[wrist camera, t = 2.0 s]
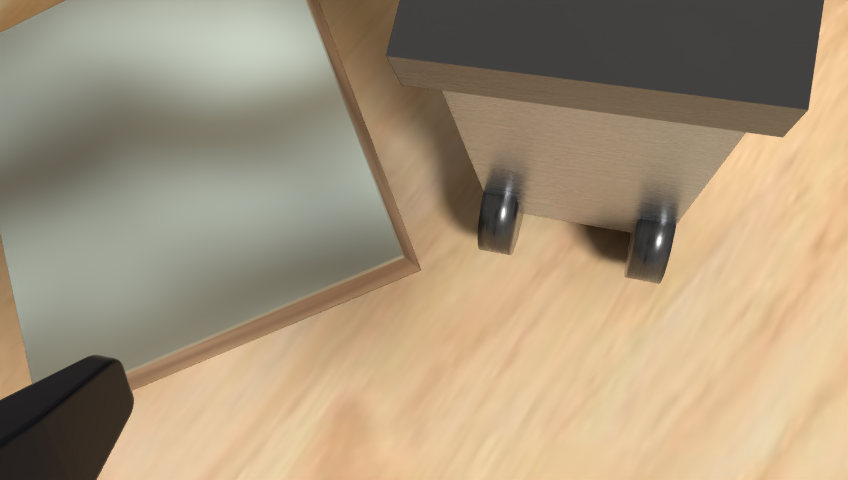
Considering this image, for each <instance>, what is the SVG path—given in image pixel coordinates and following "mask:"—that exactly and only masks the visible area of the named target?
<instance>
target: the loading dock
mask: <svg viewBox="0 0 848 480" xmlns="http://www.w3.org/2000/svg"><path fill="white" fill-rule="evenodd" d="M0 234H1V239H2V244H3V248H4V253H5V258H6V262H7V267H8V272H9V277H10V281H11V286H12V291H13V295H14V300H15V305H16V310H17V314H18V319H19V324H20V328H21V333H22V338H23V343H24V347H25V352H26V357H27V361H28V366H29V371H30V375H31V380H32V384H33V383H35V382H37V381H39V380H41V379H43V378H45V377H47V376H49V375H51V374H53V373H55V372H57V371H59V370H61V369H63V368H65V367H67V366H70V365H72V364H74V363H76V362H78V361H80V360H82V359H84V358H86V357H88V356H91V355H101V356H106V357H111V358H115V359H118V360H119V361H120V362H121V363H122V365H123V367H124V370H125V373H126V376H127V379H128V382H129V385H130V388H131V391H132V390H135V389H137V388H140V387H142V386H144V385H147V384H149V383H152V382H154V381H156V380H159V379H161V378H163V377H166V376H168V375H171V374H173V373H175V372H178V371H180V370H183V369H185V368H187V367H190V366H192V365H195V364H197V363H199V362H202V361H204V360H207V359H209V358H211V357H214V356H216V355H219V354H221V353H223V352H226V351H228V350H231V349H233V348H235V347H238V346H240V345H243V344H245V343H247V342H250V341H252V340H255V339H257V338H259V337H262V336H264V335H267V334H269V333H271V332H274V331H276V330H279V329H281V328H283V327H286V326H288V325H291V324H293V323H295V322H298V321H300V320H303V319H305V318H307V317H310V316H312V315H315V314H317V313H319V312H322V311H324V310H326V309H329V308H331V307H334V306H336V305H338V304H341V303H343V302H346V301H348V300H350V299H353V298H355V297H358V296H360V295H362V294H365V293H367V292H370V291H372V290H374V289H377V288H379V287H382V286H384V285H386V284H389V283H391V282H394V281H396V280H398V279H401V278H403V277H406V276H408V275H410V274H413V273H415V272H418V271H420V270H421V268H420V266H419V263H418V260H417V258H416V255H415V253H414V250H413V247H412V245H411V242H410V240H409V237H408V234H407V232H406V229H405V227H404V224H403V221H402V219H401V216H400V213H399V211H398V208H397V206H396V203H395V200H394V198H393V195H392V193H391V190H390V187H389V185H388V182H387V180H386V177H385V174H384V172H383V169H382V166H381V164H380V161H379V159H378V156H377V153H376V151H375V148H374V146H373V143H372V140H371V138H370V135H369V133H368V130H367V127H366V125H365V122H364V120H363V117H362V114H361V112H360V109H359V106H358V104H357V101H356V99H355V96H354V93H353V91H352V88H351V86H350V83H349V80H348V78H347V75H346V73H345V70H344V67H343V65H342V62H341V60H340V57H339V54H338V52H337V49H336V46H335V44H334V41H333V39H332V36H331V33H330V31H329V28H328V26H327V23H326V20H325V18H324V15H323V13H322V10H321V7H320V5H319V2H318V0H65V1H63V2H61V3H59V4H57V5H55V6H53V7H51V8H49V9H47V10H45V11H43V12H41V13H39V14H37V15H35V16H33V17H31V18H29V19H27V20H25V21H23V22H21V23H19V24H17V25H15V26H13V27H11V28H9V29H7V30H5V31H2V32H0Z"/></svg>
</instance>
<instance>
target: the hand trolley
mask: <svg viewBox="0 0 848 480" xmlns="http://www.w3.org/2000/svg"><path fill="white" fill-rule="evenodd" d="M823 4H824V0H400V2H399V6H398V10H397V14H396V18H395V22H394V26H393V30H392V34H391V38H390V42H389V46H388V50H387V54H386V57H387V59H388V61H389V62H390V64H391V66H392V68H393V70H394V72H395V73H396V75H397V77H398V79H399V81H400V83H401V85H406V86H413V87H420V88H427V89H435V90H442V92H443V94H444V97H445V99H446V102H447V104H448V106H449V109H450V111H451V114H452V116H453V119H454V121H455V123H456V126H457V128H458V131H459V133H460V135H461V138H462V140H463V143H464V145H465V148H466V150H467V152H468V155H469V157H470V160H471V162H472V165H473V167H474V169H475V172H476V174H477V177H478V179H479V181H480V184H481V186H482V189H483V191H484V193H483V198H482V204H481V209H480V216H479V225H478V247H479V249H480V250H486V251H491V252H496V253H501V254H507V255H512V253H513V251H514V248H515V245H516V242H517V238H518V234H519V230H520V226H521V221H522V217H523V214H528V215H534V216H540V217H545V218H551V219H557V220H562V221H568V222H574V223H579V224H585V225H591V226H596V227H602V228H608V229H613V230H619V231H625V232H630V233H631V234H630V239H629V245H628V251H627V258H626V265H625V277H627V278H632V279H637V280H642V281H648V282H653V283H658V284H659V283H660V282H661V280H662V278H663V276H664V273H665V270H666V267H667V263H668V260H669V256H670V252H671V248H672V243H673V238H674V233H675V228H676V224H677V223H678V222H679V220H680V219H681V218H682V216H683V215H684V214H685V212H686V211H687V210H688V208H689V207H690V206H691V204H692V203H693V202H694V200H695V199H696V198H697V197H698V195H699V194H700V193H701V191H702V190H703V189H704V187H705V186H706V185H707V183H708V182H709V181H710V179H711V178H712V177H713V175H714V174H715V173H716V171H717V170H718V169H719V168H720V166H721V165H722V164H723V162H724V161H725V160H726V158H727V157H728V156H729V154H730V153H731V152H732V150H733V149H734V148H735V146H736V145H737V144H738V142H739V141H740V140H741V138H742V137H743V136H744V135H745V133H746V132H748V133H755V134H762V135H770V136H777V137H784V136H785V134H786V133H787V132H788V131H789V130H790V129H791V128H792V127H793V126H794V125H795V124H796V123H797V121H798V120H799V119H800V118H801V117H802V116H803V115H804V114H805V113H806V112H807V111H808V108H809V101H810V94H811V87H812V80H813V73H814V66H815V60H816V53H817V46H818V39H819V32H820V25H821V18H822V11H823Z"/></svg>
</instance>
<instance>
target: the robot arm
mask: <svg viewBox="0 0 848 480" xmlns="http://www.w3.org/2000/svg"><path fill="white" fill-rule="evenodd" d="M133 404H134V397H133V394H132V391H131V388H130V385H129V382H128V379H127V376H126V373H125V370H124V367H123V365H122V363H121V362H120V361H119V360H118V359H115V358H111V357H106V356H101V355H91V356H88V357H86V358H84V359H82V360H80V361H78V362H76V363H74V364H72V365H70V366H67V367H65V368H63V369H61V370H59V371H57V372H55V373H53V374H51V375H49V376H47V377H45V378H43V379H41V380H39V381H37V382H35V383H33V384H31V385H29V386H27V387H25V388H23V389H21V390H19V391H17V392H15V393H13V394H11V395H9V396H7V397H5V398H3V399H1V400H0V480H97V478H98V476H99V474H100V472H101V470H102V468H103V466H104V464H105V463H106V461H107V459H108V457H109V455H110V453H111V451H112V449H113V447H114V445H115V443H116V442H117V440H118V438H119V436H120V434H121V432H122V430H123V428H124V426H125V424H126V423H127V421H128V419H129V417H130V415H131V412H132V409H133Z"/></svg>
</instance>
